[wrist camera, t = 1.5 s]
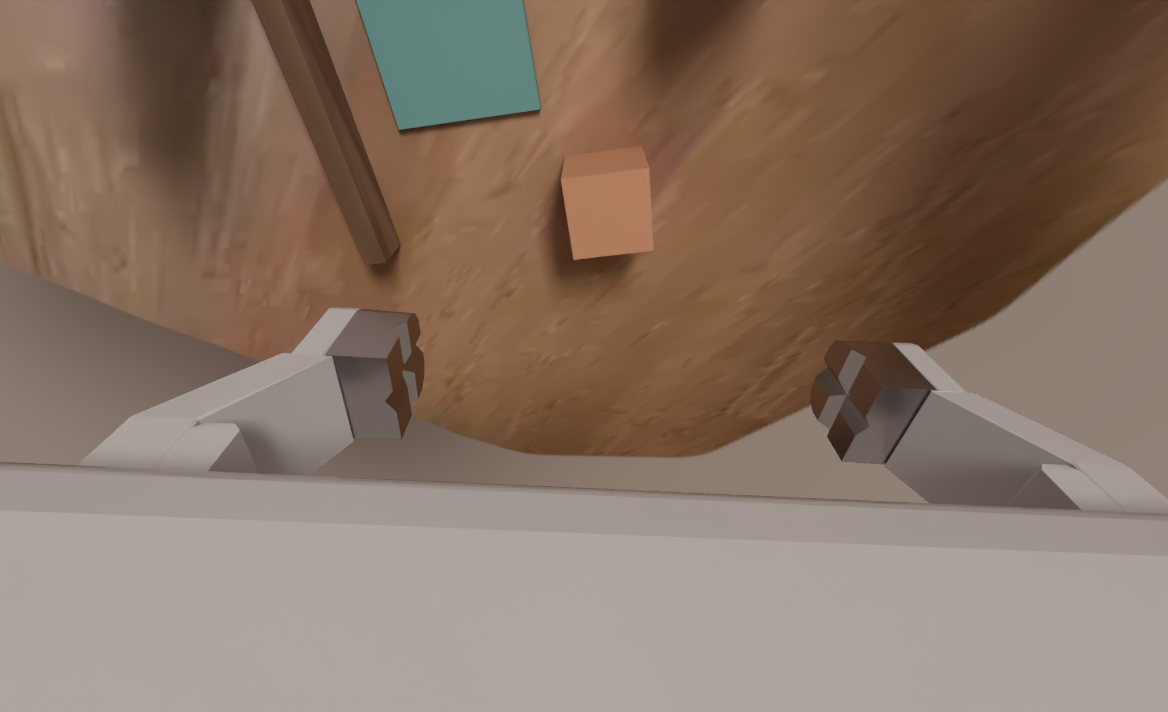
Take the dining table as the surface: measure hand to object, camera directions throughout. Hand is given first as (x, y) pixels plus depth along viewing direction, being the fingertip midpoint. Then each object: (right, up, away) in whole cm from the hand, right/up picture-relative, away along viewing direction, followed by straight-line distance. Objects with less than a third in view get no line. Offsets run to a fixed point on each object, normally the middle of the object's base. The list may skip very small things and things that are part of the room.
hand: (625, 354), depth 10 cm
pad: (-8, +18, +18) cm, 27 cm away
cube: (+1, +11, +23) cm, 26 cm away
